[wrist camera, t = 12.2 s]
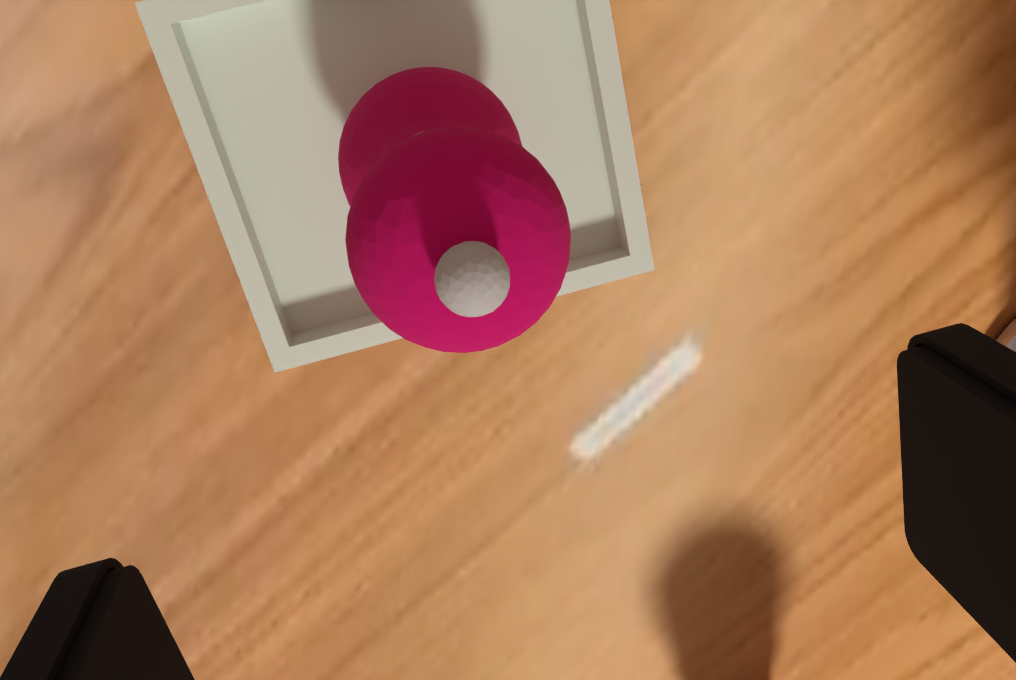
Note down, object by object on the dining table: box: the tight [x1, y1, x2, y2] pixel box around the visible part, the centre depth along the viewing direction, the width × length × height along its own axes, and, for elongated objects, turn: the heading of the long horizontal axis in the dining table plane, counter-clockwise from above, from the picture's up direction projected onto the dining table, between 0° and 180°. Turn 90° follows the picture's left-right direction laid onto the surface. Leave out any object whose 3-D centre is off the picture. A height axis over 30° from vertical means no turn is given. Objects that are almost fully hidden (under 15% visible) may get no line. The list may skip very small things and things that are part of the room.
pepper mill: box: [338, 67, 571, 353], centre depth 28 cm, size 7×7×20 cm
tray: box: [135, 0, 654, 372], centre depth 37 cm, size 18×16×2 cm
